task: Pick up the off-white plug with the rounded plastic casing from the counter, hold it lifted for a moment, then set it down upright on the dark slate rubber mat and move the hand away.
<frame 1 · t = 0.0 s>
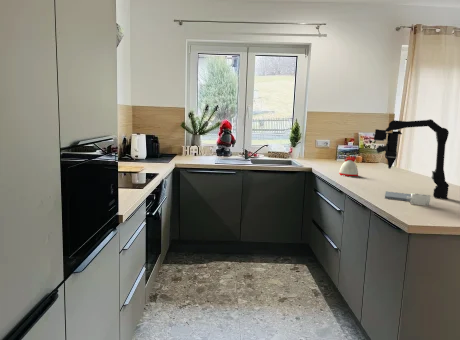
hand: (389, 167, 218), 15 cm above the worktop, tool pointing down, fingers open, 9 cm apart
kitchen timer: (348, 175, 282), on the worktop
slate mat: (400, 197, 205), on the worktop
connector: (419, 203, 191), on the worktop
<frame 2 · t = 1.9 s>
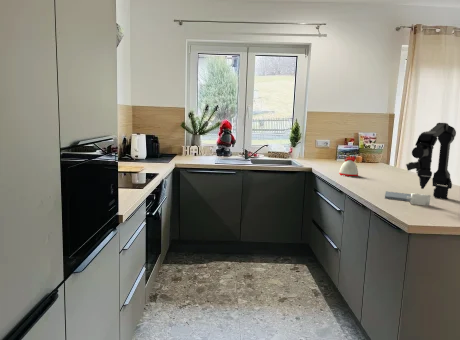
hand: (421, 187, 189), 9 cm above the worktop, tool pointing down, fingers open, 9 cm apart
nothing on the worktop moved.
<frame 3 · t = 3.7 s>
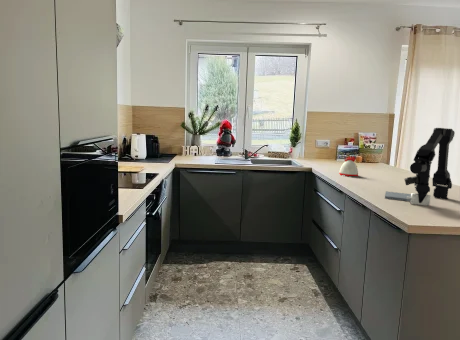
hand: (419, 201, 190), 1 cm above the worktop, tool pointing down, fingers closed on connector, 4 cm apart
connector: (419, 203, 191), on the worktop, touching gripper
everything else where it was.
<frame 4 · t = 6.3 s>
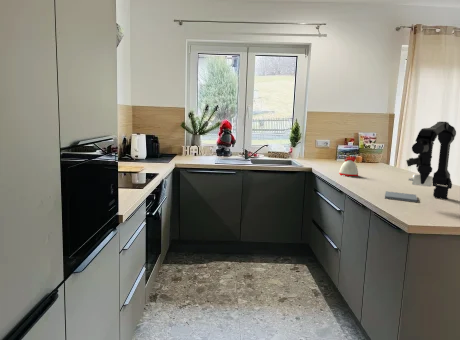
hand: (421, 183, 189), 11 cm above the worktop, tool pointing down, fingers closed on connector, 4 cm apart
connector: (421, 185, 189), point 10 cm above the worktop, touching gripper
everything else where it was.
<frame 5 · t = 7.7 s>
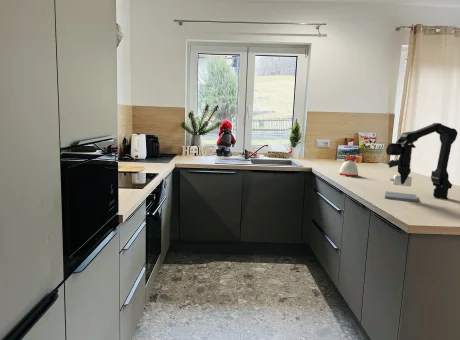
hand: (402, 183, 204), 8 cm above the worktop, tool pointing down, fingers closed on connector, 4 cm apart
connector: (402, 185, 204), point 7 cm above the worktop, touching gripper
everything else where it was.
when the fingers open (4 cm above the worktop, at t = 9.1 s): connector drops 1 cm, resting on slate mat.
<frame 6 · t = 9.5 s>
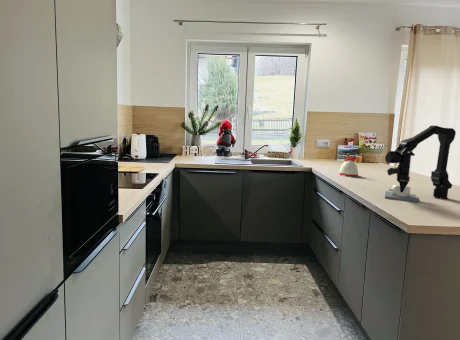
hand: (401, 191, 204), 4 cm above the worktop, tool pointing down, fingers open, 8 cm apart
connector: (400, 195, 205), point 1 cm above the worktop, touching slate mat
everything else where it was.
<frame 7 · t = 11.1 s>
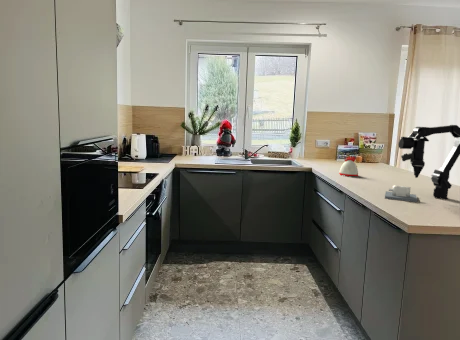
hand: (415, 176, 207), 12 cm above the worktop, tool pointing down, fingers open, 9 cm apart
nothing on the worktop moved.
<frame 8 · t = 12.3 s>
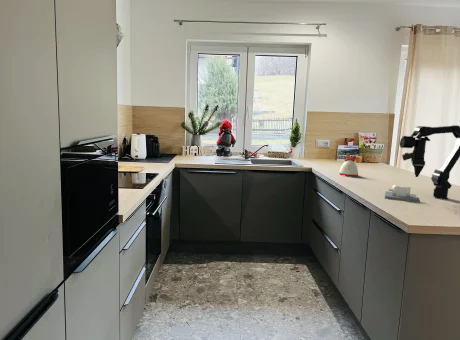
hand: (416, 175, 208), 12 cm above the worktop, tool pointing down, fingers open, 9 cm apart
nothing on the worktop moved.
at the end: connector inside the target area on the slate mat (0.0 cm from its centre), point 1.2 cm above the slate mat's base; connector tilted 0°; the gripper is holding nothing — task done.
